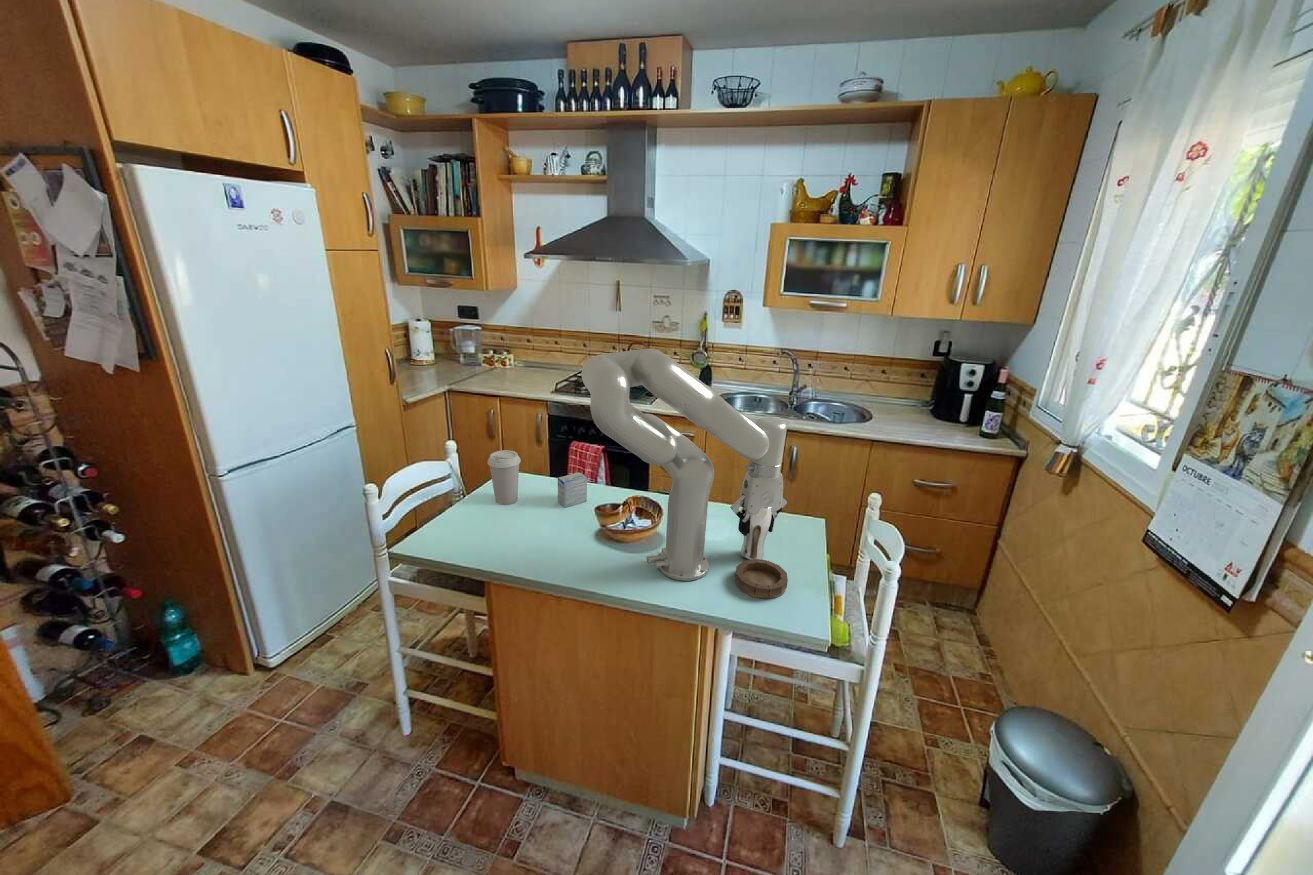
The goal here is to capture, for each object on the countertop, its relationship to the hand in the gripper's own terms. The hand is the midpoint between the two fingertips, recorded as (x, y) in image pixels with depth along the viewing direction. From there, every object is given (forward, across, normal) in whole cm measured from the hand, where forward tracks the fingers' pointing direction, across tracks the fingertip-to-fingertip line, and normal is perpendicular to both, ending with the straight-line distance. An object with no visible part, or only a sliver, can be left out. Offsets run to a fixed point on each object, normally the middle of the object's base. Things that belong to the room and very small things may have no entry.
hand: (755, 530), depth 133 cm
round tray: (+8, -4, -11) cm, 14 cm away
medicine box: (+9, -38, +43) cm, 58 cm away
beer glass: (+7, 0, 0) cm, 7 cm away
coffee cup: (+9, -57, +50) cm, 77 cm away
